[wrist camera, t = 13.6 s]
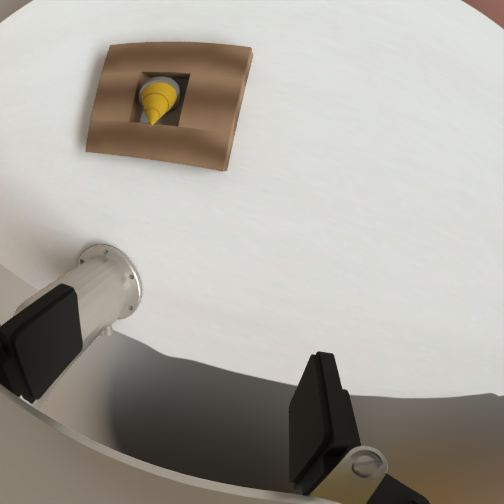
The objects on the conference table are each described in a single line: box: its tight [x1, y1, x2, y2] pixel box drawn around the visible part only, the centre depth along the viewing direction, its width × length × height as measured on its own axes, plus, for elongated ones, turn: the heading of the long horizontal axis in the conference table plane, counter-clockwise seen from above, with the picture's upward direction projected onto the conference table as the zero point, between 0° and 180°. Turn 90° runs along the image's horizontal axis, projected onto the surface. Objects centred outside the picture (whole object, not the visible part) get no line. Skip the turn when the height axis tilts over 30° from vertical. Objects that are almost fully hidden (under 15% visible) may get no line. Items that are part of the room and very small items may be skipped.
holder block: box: [85, 42, 253, 171], centre depth 31 cm, size 16×20×3 cm
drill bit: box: [139, 76, 181, 127], centre depth 30 cm, size 5×5×10 cm
